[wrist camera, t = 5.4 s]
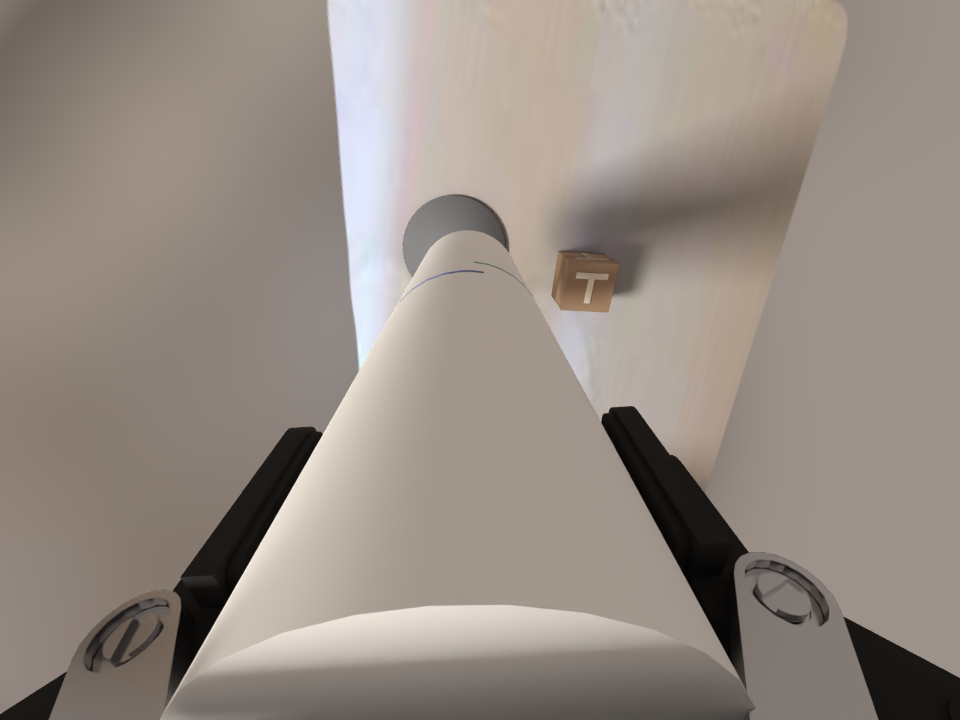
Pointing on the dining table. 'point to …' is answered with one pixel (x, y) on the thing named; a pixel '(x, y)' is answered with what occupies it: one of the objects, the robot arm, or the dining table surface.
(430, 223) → the charcoal mat
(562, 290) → the wooden letter cube
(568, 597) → the cylindrical container
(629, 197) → the dining table surface
